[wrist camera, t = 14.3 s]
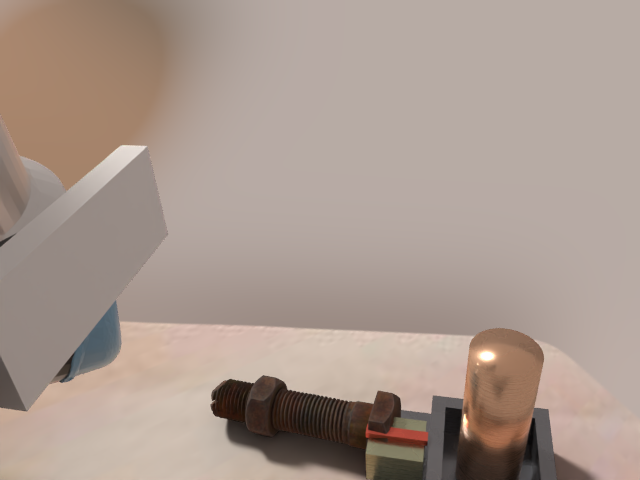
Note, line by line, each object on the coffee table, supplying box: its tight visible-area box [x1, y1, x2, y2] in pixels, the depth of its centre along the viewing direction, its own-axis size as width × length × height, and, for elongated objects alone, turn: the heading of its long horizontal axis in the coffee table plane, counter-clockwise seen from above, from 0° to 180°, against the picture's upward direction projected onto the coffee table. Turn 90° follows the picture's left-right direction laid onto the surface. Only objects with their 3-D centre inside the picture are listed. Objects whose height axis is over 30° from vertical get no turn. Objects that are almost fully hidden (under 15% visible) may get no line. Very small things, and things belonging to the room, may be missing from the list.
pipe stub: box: [455, 328, 544, 480], centre depth 40 cm, size 4×4×12 cm
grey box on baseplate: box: [366, 396, 557, 480], centre depth 43 cm, size 13×10×4 cm
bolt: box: [211, 375, 401, 459], centre depth 48 cm, size 6×5×15 cm
